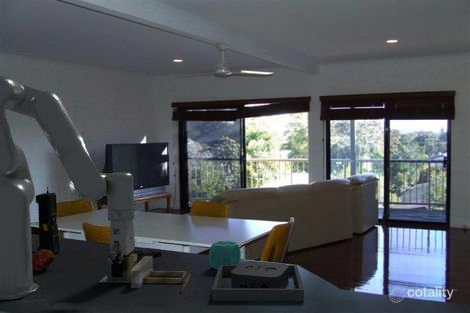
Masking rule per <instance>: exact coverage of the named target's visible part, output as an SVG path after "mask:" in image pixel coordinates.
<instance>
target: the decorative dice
mask: <svg viewBox="0 0 470 313" xmlns="http://www.w3.org/2000/svg"><path fill="white" fill-rule="evenodd" d="M241 252H242V251H241V248H240V246H239V244H238V243H237V242H236V241H233V240H219V241H215V242H213V243H212V244H211V246H210V248H209V250H208V262H209V264H210V266H211V267H212V268H213V269H214V270H216V271H218V269H219V266H220V265H239V264H240V263H241V262H240V261H241Z"/></svg>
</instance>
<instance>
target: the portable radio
mask: <svg viewBox="0 0 470 313" xmlns="http://www.w3.org/2000/svg"><path fill="white" fill-rule="evenodd" d="M35 203H36V204H38V206H37V208H38V239H39V242H38V247H37V251H36V252H38V251H39V250H41V249H47V250H50V251H51V252H52V253H53V254H54V255H56V254H58V253H59V252H60V241H59V240H60V238H59V225H58V224H57V214H58V211H57V210H58V209H57V206H58V205H57V194H56V192H49V186H46V193H45V192H44V193H40V194H35Z"/></svg>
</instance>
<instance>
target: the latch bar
mask: <svg viewBox="0 0 470 313" xmlns="http://www.w3.org/2000/svg"><path fill="white" fill-rule="evenodd" d="M108 258H109V257H108ZM108 258H107V260H106V276H107V281H131V270H132V269H133V268H134V267H135V266H136V265H137V254H130V255H129V256H127V257H123V258H122V263H123V277H112V271H111V257H110V258H109V259H108ZM118 258H119V257H118Z"/></svg>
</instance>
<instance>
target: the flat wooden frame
mask: <svg viewBox="0 0 470 313" xmlns="http://www.w3.org/2000/svg"><path fill="white" fill-rule="evenodd" d="M153 261H154V260H153V259H152V256H144V257H143V258H142V259H141V260H140V261H139V262H138V264H137V265H136V266H135V267H134V268H133V269H132V270H131V281H107V275H105V276H104V277H103V278H101V279H100V281H98V283H130V288H131V289H140V288H141V287H142V286H143V284H183V285H182V287H181V288H180V291H179V294H182V293H183V292H184V290H185V288H186V285H187V283H188V281H189V280H190V277H191V272H188V270H178V271H177V270H154V268H153V267H154V266H153Z"/></svg>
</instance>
